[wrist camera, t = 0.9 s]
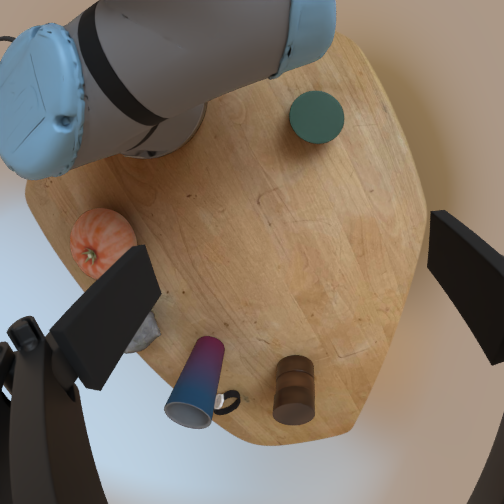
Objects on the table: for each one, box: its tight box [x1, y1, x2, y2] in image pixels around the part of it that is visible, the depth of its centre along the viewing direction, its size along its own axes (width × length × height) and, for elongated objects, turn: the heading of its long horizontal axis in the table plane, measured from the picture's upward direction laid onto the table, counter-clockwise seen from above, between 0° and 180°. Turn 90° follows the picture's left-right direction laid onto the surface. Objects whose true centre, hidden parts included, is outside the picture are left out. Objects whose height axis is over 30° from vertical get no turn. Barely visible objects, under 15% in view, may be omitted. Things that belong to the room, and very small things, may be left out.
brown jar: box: [273, 355, 315, 425], centre depth 45 cm, size 7×7×10 cm
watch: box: [214, 390, 240, 415], centre depth 55 cm, size 8×5×4 cm, turn 147°
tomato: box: [70, 208, 137, 280], centre depth 39 cm, size 11×11×8 cm
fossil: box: [124, 311, 161, 354], centre depth 45 cm, size 11×9×8 cm
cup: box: [164, 336, 225, 429], centre depth 43 cm, size 7×7×15 cm
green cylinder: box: [289, 91, 344, 144], centre depth 31 cm, size 6×6×4 cm
